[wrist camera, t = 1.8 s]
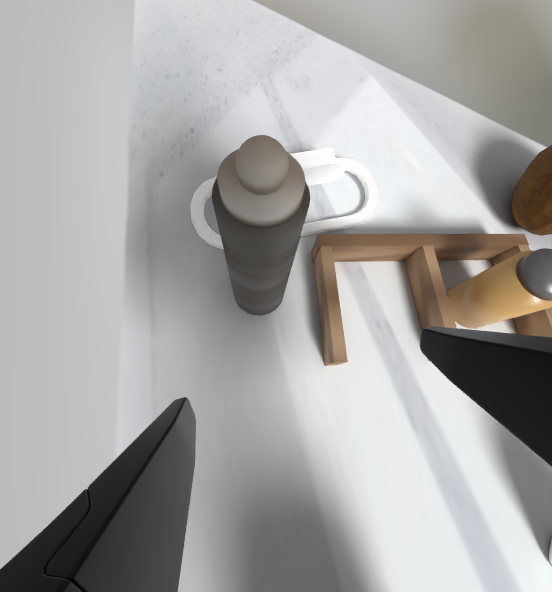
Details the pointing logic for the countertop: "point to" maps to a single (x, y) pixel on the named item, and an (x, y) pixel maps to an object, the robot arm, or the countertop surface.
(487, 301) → the amber jar
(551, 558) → the eye dropper bottle
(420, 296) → the slot rack
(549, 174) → the potato
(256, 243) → the pepper mill
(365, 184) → the rolling pin
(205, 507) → the countertop surface
